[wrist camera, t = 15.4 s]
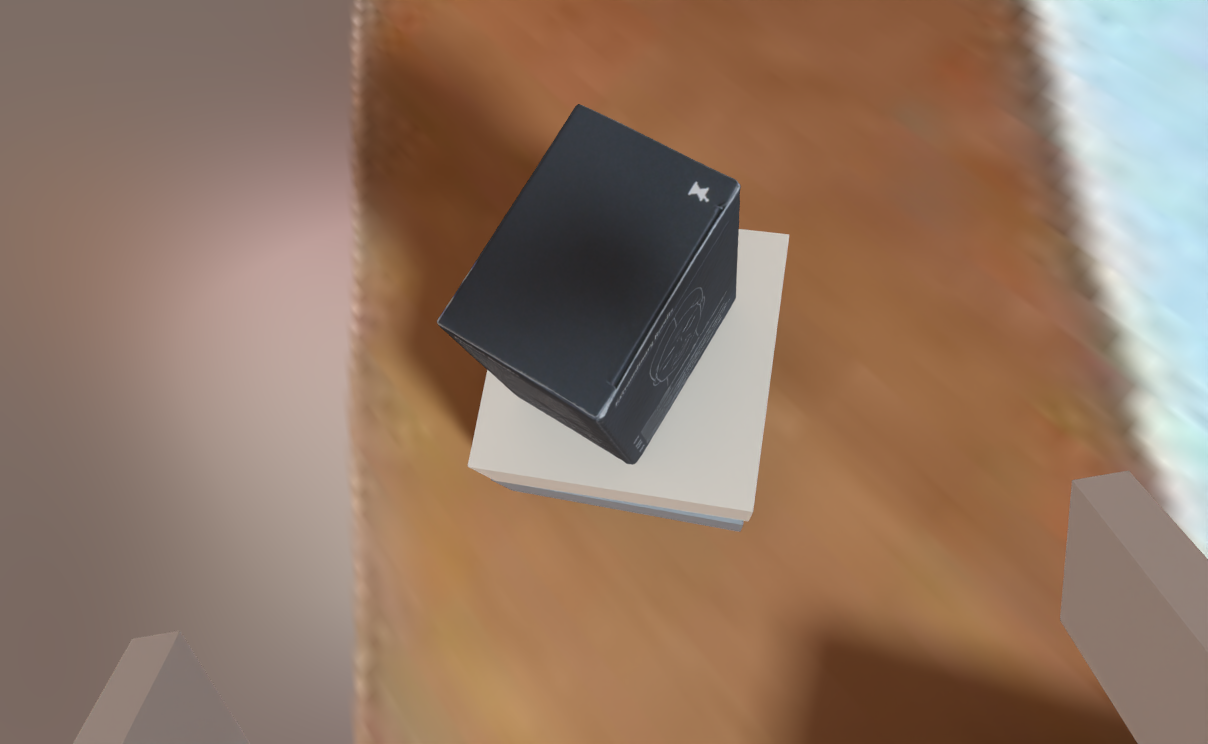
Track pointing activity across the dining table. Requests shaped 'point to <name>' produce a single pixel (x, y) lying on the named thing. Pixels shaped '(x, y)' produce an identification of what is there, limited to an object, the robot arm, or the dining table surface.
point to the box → (603, 282)
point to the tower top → (689, 430)
